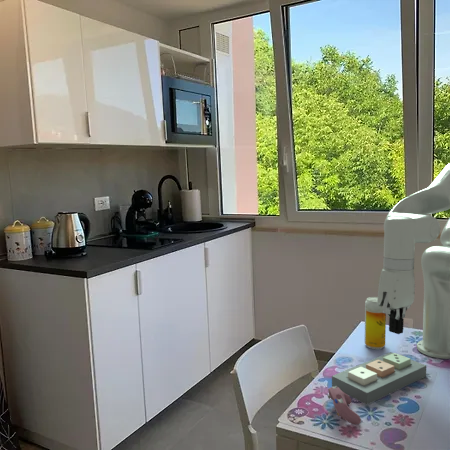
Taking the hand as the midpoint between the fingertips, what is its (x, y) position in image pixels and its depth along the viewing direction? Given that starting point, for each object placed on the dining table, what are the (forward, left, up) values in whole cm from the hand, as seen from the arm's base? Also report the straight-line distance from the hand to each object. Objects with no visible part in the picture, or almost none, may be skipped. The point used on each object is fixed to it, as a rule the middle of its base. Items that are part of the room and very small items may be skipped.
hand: (395, 332), depth 122 cm
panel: (+6, 0, -12) cm, 13 cm away
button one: (+13, 0, -10) cm, 17 cm away
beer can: (-12, -16, -12) cm, 23 cm away
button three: (-1, 0, -10) cm, 10 cm away
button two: (+6, 0, -10) cm, 12 cm away
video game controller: (+26, +5, -12) cm, 29 cm away
